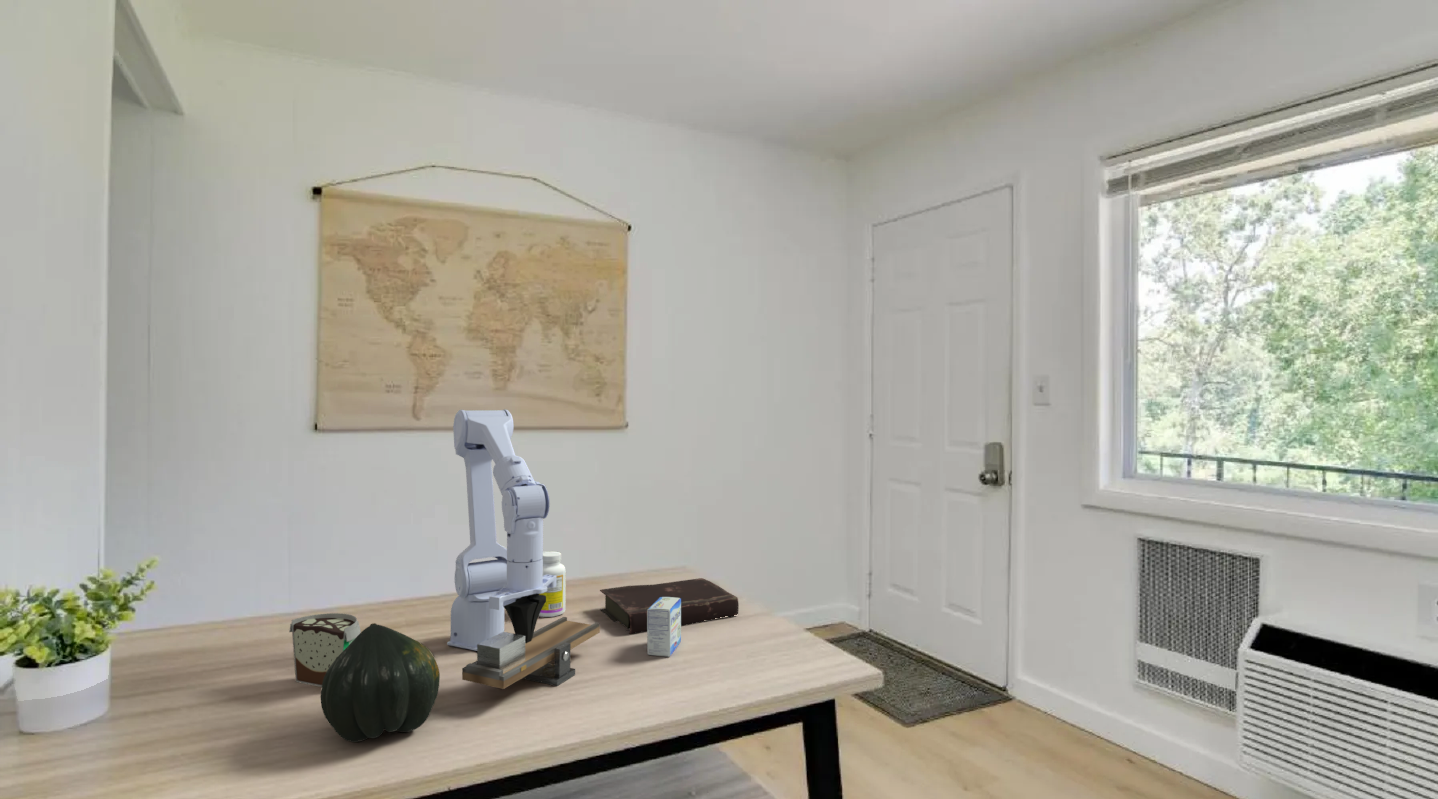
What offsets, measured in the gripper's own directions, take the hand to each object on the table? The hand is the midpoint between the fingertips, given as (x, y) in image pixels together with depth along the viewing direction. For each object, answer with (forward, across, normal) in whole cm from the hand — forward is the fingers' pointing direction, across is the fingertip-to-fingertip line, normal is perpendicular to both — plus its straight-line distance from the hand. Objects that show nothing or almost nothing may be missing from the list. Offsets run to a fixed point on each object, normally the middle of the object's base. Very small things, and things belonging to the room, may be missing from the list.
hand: (524, 641), depth 115 cm
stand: (+7, +3, 0) cm, 7 cm away
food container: (+7, -12, +29) cm, 32 cm away
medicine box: (+7, +23, -14) cm, 28 cm away
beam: (+3, +3, 0) cm, 4 cm away
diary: (+7, +42, -5) cm, 43 cm away
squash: (+7, -21, +8) cm, 24 cm away
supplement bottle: (+7, +31, +18) cm, 36 cm away
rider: (+2, -5, 0) cm, 6 cm away
